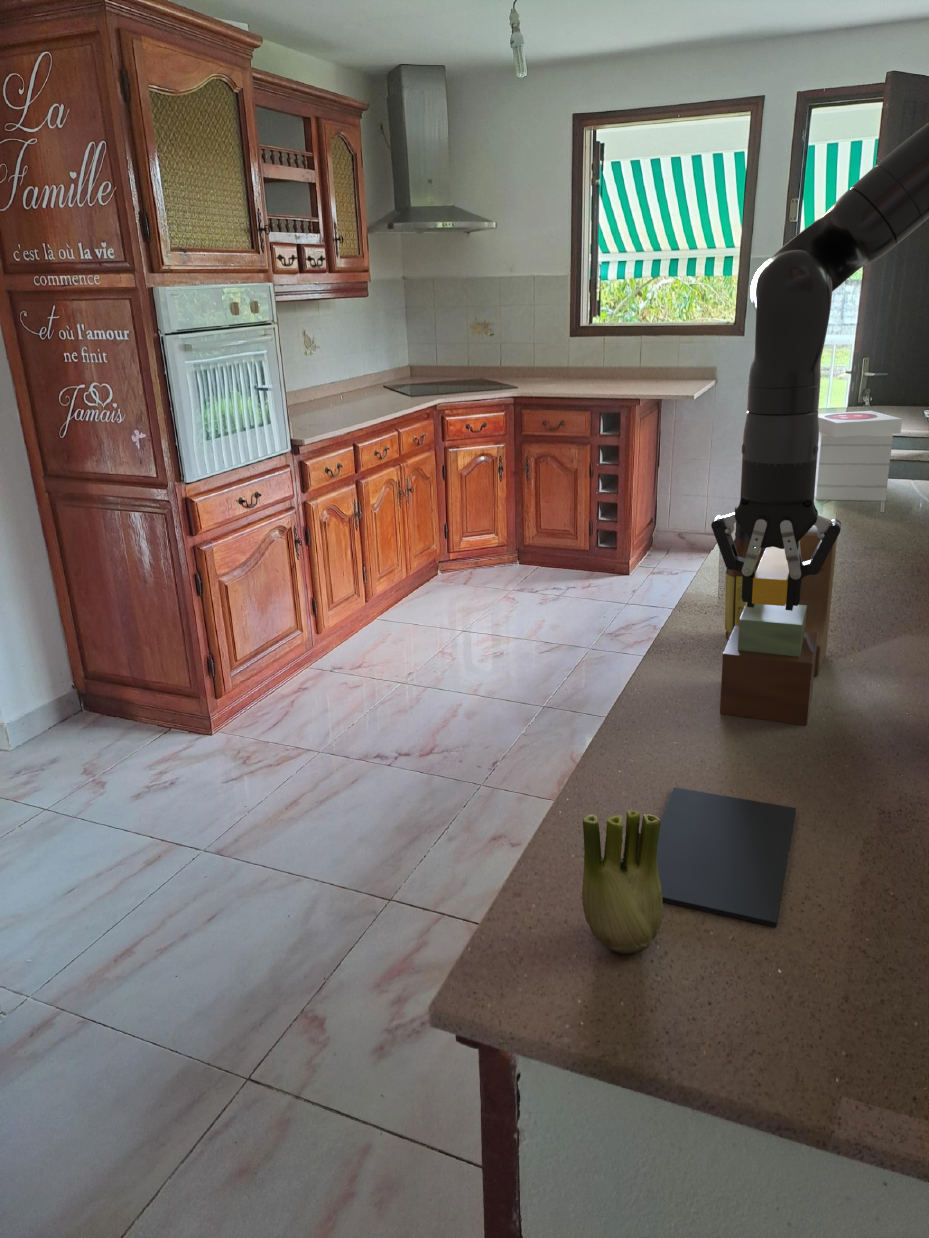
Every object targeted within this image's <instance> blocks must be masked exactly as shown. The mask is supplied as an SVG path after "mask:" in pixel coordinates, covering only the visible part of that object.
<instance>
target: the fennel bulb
mask: <svg viewBox="0 0 929 1238" xmlns="http://www.w3.org/2000/svg"><path fill="white" fill-rule="evenodd" d="M625 813H626V822H625V835H624V824H623V823H624V820H623V819H624V818H623V816H622V815H620V814H613V815H612V816H609V817H608V818H607V819H606V830H605V841H604V855H602V847H601V846H602V845H601V844H602V843H601V833H600V826H599V825H600V824H599V819H598V818H599V817H598V816H597V815H595V814H593V813H592V814H588V815H586V816H584V817H583V818H582V832H583V849H584V850H583V852H584V853H583V875H582V887H581V900H582V908H583V914H584V919H585V921H586V924H588V926H589V929H590V931H591V933H592V936H594V938H595V939H596V940H597V941H599V942H600V943H602V944H603V946H605V947H607V948H608V949H609V950H610V951H612V952H615V953H617V954H621V955H635V954H638V953H639V954H640V953H642V952H644V951H645V950H646V949H648V948H650V946H651V943H652V942H653V941H654V940H655V939H656V937H657V935H658V933H659V932H660V929H661V926H662V920H663V909H664V908H663V903H664V902H662V891H661V885H660V879H659V873H658V866H657V850H658V839H659V830H660V824H661V821H660V820H661V818H659V817H658V816H656V815H655V814H650V813H649V814H647V813H645V814H642V820H641V814H640V812H639V811H636V810H632V809H627V810H626V811H625ZM640 820H641V822H640ZM640 823H641V828H640ZM623 835H624V836H625V837H624V846H623ZM622 846H623V848H622ZM622 849H623V850H622ZM622 851H623V853H622ZM602 856H603V857H602ZM622 856H623V857H622Z"/></svg>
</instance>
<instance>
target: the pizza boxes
mask: <svg viewBox="0 0 929 1238" xmlns="http://www.w3.org/2000/svg"><path fill="white" fill-rule="evenodd" d="M818 422H819V442H818V454H817V467H816V480H815V494H814V498H815V500H816V501H818V500H819V501H861V502H863V501H865V502H866V501H868V502H870V501H871V502H886V500H887V492H888V491H887V490H888V483H889V474H890V465H891V456H892V447H893V439H894V435H895V434H901V433H902V424H903V418H901V417H897V416H892V415H889V414H885V413H881V412H877V411H874V410H860V411H858V410H857V411H842V412H828V413H818ZM893 434H894V435H893Z"/></svg>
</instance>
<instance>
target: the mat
mask: <svg viewBox="0 0 929 1238" xmlns="http://www.w3.org/2000/svg"><path fill="white" fill-rule="evenodd" d="M796 810H797V809H796V807H793V806H787V805H781V804H775V803H770V802H764V801H757V800H752V799H748V798H746V799H745V798H742V797H741V798H740V797H736V796H735V797H734V796H729V795H722V794H717V793H713V792H712V793H711V792H706V791H698V790H695V789H689V788H688V789H687V788H682V787H677V786H674V787H673V789H672V791H671V793H670V796H669V798H668V801H667V804H666V806H665V808H664V810H663V813H662V815H661V818H660V821H661V824H660V830H659V839H658V850H657V866H658V873H659V879H660V885H661V891H662V902H663V903H666V904H671V905H675V906H678V907H683V908H688V909H692V910H697V911H702V912H706V913H709V914H710V913H711V914H715V915H719V916H723V917H728V918H733V919H736V920H742V921H746V922H750V923H756V924H760V925H764V926H767V927H773V928H777V926H778V921H779V920H778V919H779V914H780V907H781V902H782V895H783V889H784V883H785V879H786V872H787V865H788V859H789V854H790V847H791V841H792V836H793V830H794V823H795V822H794V821H795V816H796Z"/></svg>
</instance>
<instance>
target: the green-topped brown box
mask: <svg viewBox="0 0 929 1238" xmlns="http://www.w3.org/2000/svg"><path fill="white" fill-rule="evenodd" d="M806 610H807V605H798V606H793V610H792V611H791V610H786V605H785V606H777V605H765V604H755V606H754V608H752V607H747V603H746V605H745V608H744V610H743V612H742V615H741V617H740V620H739V625H735V626H734V629H733V631H732V633H731V636H730V638H729V640H728V641H727V643H726V645H725V647H724V650H723V652H722V660H721V661H722V662H721V664H722V665H721V679H720V680H721V682H720V702H719V714H720V715H726V716H734V717H741V718H748V719H757V720H765V721H769V722H770V721H771V722H779V723H786V724H793V725H801V726H807V725H808V720H809V714H810V709H811V703H812V696H813V691H814V681H815V680H814V679H815V676H814V671H815V660H816V649H817V639H818V633H814V632H805V622H806Z"/></svg>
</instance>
